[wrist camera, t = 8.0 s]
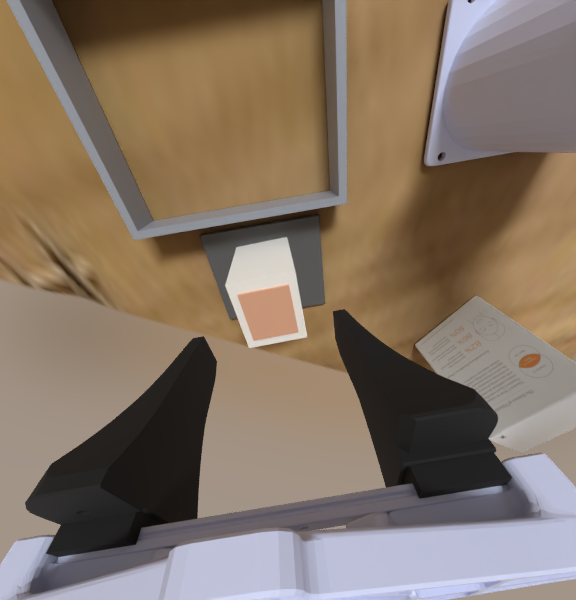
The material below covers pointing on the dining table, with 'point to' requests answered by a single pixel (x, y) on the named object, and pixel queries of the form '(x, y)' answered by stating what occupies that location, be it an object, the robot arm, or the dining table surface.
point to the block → (266, 293)
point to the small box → (506, 373)
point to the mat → (297, 230)
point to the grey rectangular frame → (107, 154)
